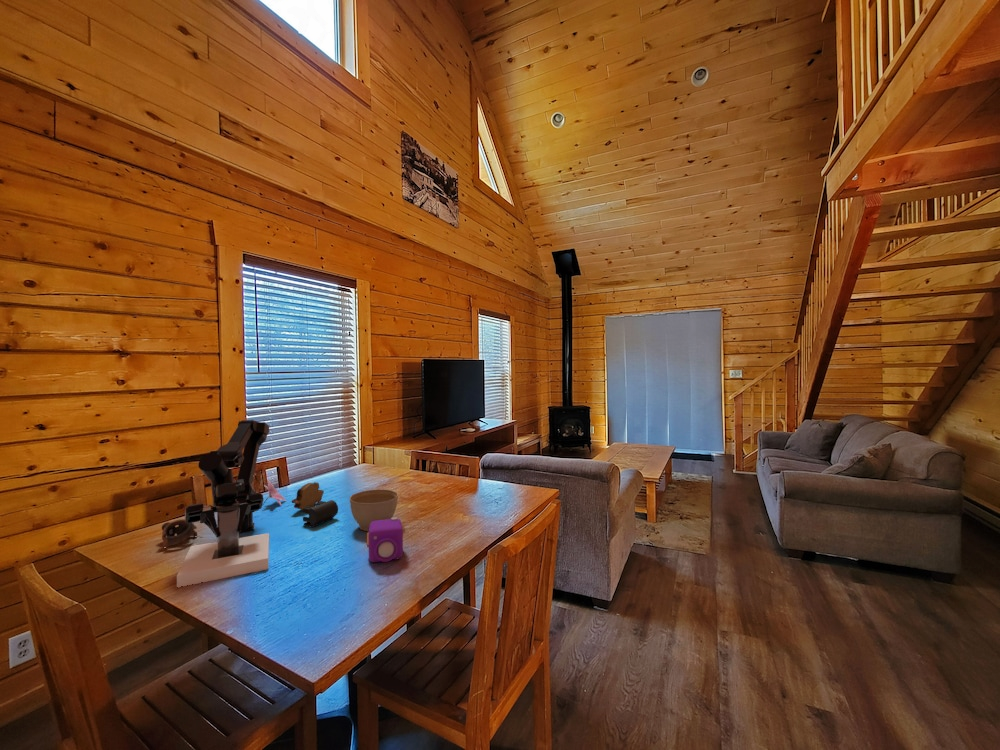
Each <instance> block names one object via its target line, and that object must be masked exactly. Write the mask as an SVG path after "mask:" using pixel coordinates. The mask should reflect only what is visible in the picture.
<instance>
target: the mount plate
mask: <svg viewBox="0 0 1000 750" xmlns="http://www.w3.org/2000/svg"><path fill="white" fill-rule="evenodd" d="M269 558H270V533H269V532H268V533H267V532H266V533H261V534H256V535H249V536H243V537H239V555H234V556H229V557H223V558H218V541H215V542H214V541H213V542H209V543H202V544H196V545H191V546H190V547H189V550H188V551H187V554H186V556H185V558H184V559H183V562H182V564H181V566H180V569H179V571H178V572H177V574H176V588H177V587H178V588H182V587H181V586H183V587H187V585H188V586H192V584H193V585H196V584H197V585H198V584H202V583H201V582H203V583H206V582H211V581H216V580H221V579H226V578H231V577H235V576H241V575H246V574H249V573H251V574H252V573H254V572H255V573H256V572H259V571H260V572H261V571H265V570H269V564H270V563H269V561H270V559H269Z"/></svg>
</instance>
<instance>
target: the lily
mask: <svg viewBox="0 0 1000 750" xmlns="http://www.w3.org/2000/svg"><path fill="white" fill-rule="evenodd" d="M266 481H267V482H268V486H267V485H265V484H263V486H264V488H265V489H266V490H268V497H266V498H265V500H264V501H263V504H262V507H263V506H264V505H265V503H266V502H267V500H269V498H271V499H275V500H276V501H277V502H278V504H279V505H280V506H282V502H281V501H285V502H287V500H286V499H285V497H284V496H283V495H282V494H281V493H279V491H278V488H275V487H274V485H273V483H272V482H271V481H270V480H269V479H268V478H267V480H266Z"/></svg>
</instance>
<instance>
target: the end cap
mask: <svg viewBox="0 0 1000 750" xmlns="http://www.w3.org/2000/svg"><path fill="white" fill-rule="evenodd" d="M338 513H339V506H338V503H337V502H336V501H335V500H334V499H330V500H328V501H325V500H324V501H323V500H321V501H320V502H316V504H315V505H314V506H307V507H305V508H303V510H302V514H304V515H308V516H303V517H302V521H303V522H304V523H303V526H304V525H305V527H309V526H311V527H310V528H314V527H315V526H318V525H320V524H322V523H325V522H327V521H329V520H331V519H333V518H334V517H336V516H337V515H338Z"/></svg>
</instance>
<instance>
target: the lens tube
mask: <svg viewBox="0 0 1000 750" xmlns="http://www.w3.org/2000/svg"><path fill="white" fill-rule="evenodd" d="M238 508H239V503H238V502H228V503H223V504H220V505H218V506H217V507H216V511H217V512H216V513H217V515H216V516H217V517H216V518H217V520H216V524H217V528H218V534H219V536H218V537H217V542H218V558H223V557H229V556H234V555H239V538H240V536H239V534H240V532H239V513H238Z"/></svg>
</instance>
